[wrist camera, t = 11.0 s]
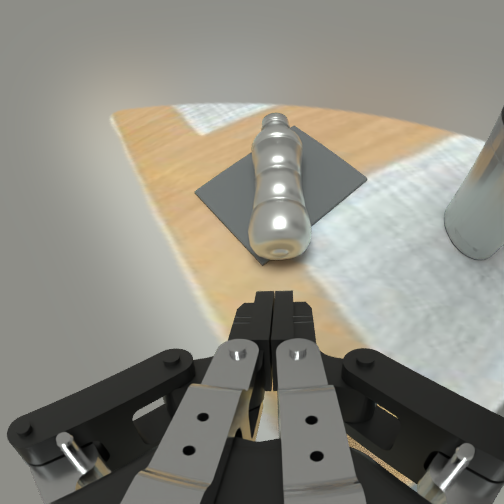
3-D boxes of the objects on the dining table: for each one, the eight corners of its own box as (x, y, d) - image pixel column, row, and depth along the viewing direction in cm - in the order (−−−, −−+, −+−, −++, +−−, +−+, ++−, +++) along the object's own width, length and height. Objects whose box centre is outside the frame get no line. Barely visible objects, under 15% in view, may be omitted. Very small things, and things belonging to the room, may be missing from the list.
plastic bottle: (275, 271, 35) (271, 146, 44) (326, 254, 31) (308, 124, 40) (233, 253, 31) (240, 122, 40) (287, 230, 27) (278, 96, 36)
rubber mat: (294, 127, 44) (294, 125, 43) (366, 180, 38) (367, 178, 38) (195, 193, 40) (194, 191, 40) (262, 265, 35) (262, 264, 34)
